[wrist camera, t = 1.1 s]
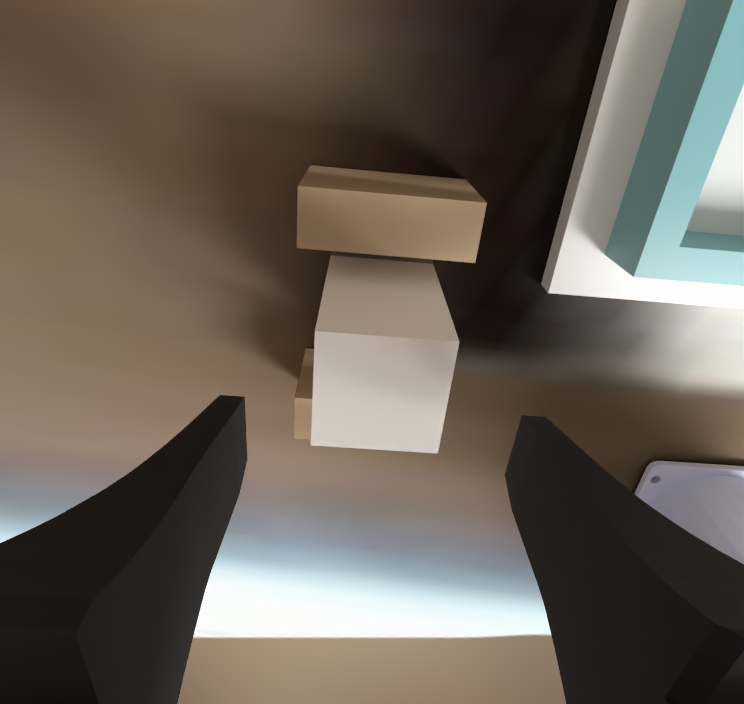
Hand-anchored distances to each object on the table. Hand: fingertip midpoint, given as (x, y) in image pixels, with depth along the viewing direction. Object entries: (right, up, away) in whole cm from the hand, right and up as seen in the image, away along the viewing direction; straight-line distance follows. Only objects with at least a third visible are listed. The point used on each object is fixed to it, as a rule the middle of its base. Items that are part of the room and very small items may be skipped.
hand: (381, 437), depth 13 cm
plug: (0, +5, +9) cm, 10 cm away
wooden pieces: (0, +5, +9) cm, 10 cm away
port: (+14, +10, +6) cm, 18 cm away
